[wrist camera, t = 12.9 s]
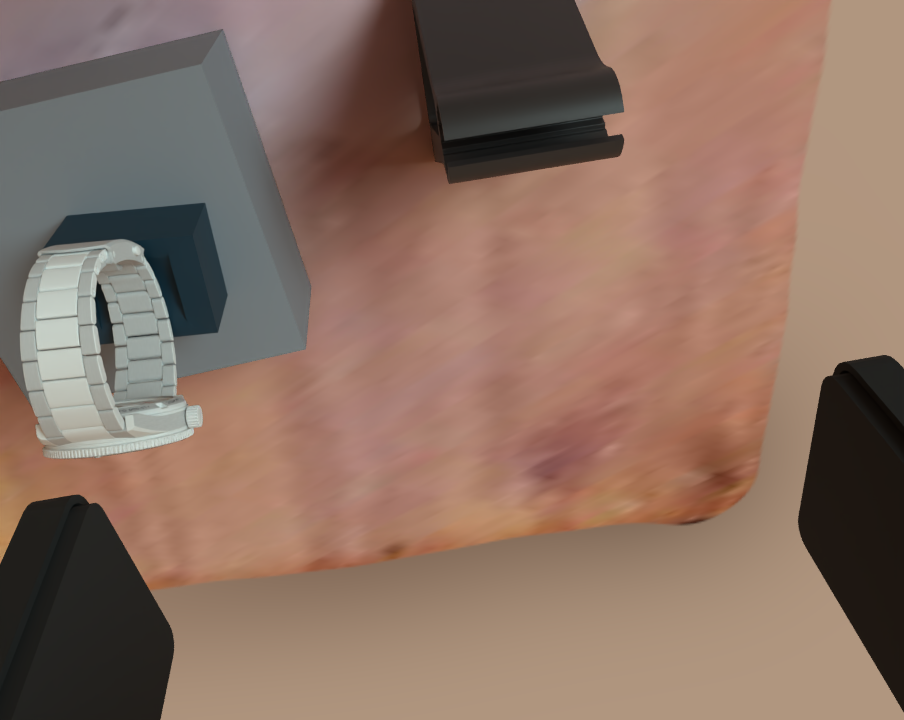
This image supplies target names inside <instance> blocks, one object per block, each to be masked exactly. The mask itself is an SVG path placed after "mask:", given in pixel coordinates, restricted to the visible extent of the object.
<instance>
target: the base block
mask: <svg viewBox="0 0 904 720" xmlns="http://www.w3.org/2000/svg"><path fill="white" fill-rule="evenodd" d="M196 203H205V204H206V208H207V212H208V216H209V220H210V225H211V229H212V233H213V237H214V241H215V245H216V249H217V253H218V257H219V261H220V265H221V269H222V274H223V278H224V282H225V286H226V290H227V294H228V296H227V300H226V304H225V308H224V312H223V316H222V319H221V323H220V327H219V331H218V333H210V334H200V335H191V336H181V337H173V339H174V340H173V341H165V342H174V348H175V355H176V364H171V365H176V372H177V378H181V377H185V376H190V375H194V374H198V373H203V372H207V371H212V370H216V369H221V368H225V367H229V366H234V365H238V364H243V363H247V362H252V361H256V360H260V359H265V358H269V357H274V356H278V355H283V354H287V353H291V352H296V351H300V350H305V349H306V341H307V330H308V319H309V307H310V296H311V285H310V282H309V279H308V276H307V273H306V270H305V267H304V264H303V261H302V258H301V256H300V253H299V250H298V247H297V244H296V241H295V238H294V235H293V232H292V229H291V226H290V224H289V221H288V218H287V215H286V212H285V209H284V206H283V203H282V200H281V197H280V194H279V191H278V189H277V186H276V183H275V180H274V177H273V174H272V171H271V168H270V165H269V162H268V159H267V157H266V154H265V151H264V148H263V145H262V142H261V139H260V136H259V133H258V130H257V127H256V124H255V122H254V119H253V116H252V113H251V110H250V107H249V104H248V101H247V98H246V95H245V92H244V90H243V87H242V84H241V81H240V78H239V75H238V72H237V69H236V66H235V63H234V60H233V57H232V55H231V52H230V49H229V46H228V43H227V40H226V37H225V34H224V31H223V29H222V30H218V31H214V32H210V33H205V34H201V35H197V36H193V37H188V38H184V39H180V40H176V41H172V42H167V43H163V44H159V45H155V46H150V47H146V48H142V49H138V50H133V51H129V52H125V53H121V54H117V55H112V56H108V57H104V58H100V59H95V60H91V61H87V62H83V63H79V64H74V65H70V66H66V67H62V68H57V69H53V70H49V71H45V72H41V73H36V74H32V75H28V76H24V77H19V78H15V79H11V80H7V81H2V82H0V357H1V359H2V361H3V362H4V364H5V365H6V367H7V368H8V370H9V372H10V373H11V375H12V376H13V378H14V379H15V381H16V383H17V384H18V386H19V387H20V389H21V390H22V392H23V394H24V395H25V397H26V398H27V400H28V401H29V403H30V405H31V401H30V398H29V392H30V391H27V388H26V384H25V378H24V372H23V363H25V362H34V361H25V362H23V361H22V360H21V351H20V333H21V332H23V331H21V329H20V325H21V310H22V304H23V303H24V302H23V295H24V290H25V286H26V282H27V279H28V278H29V277H28V275H29V272H30V270H31V268H32V267H33V265H34V264H35V263H36V260H37V259H38V258H39V257H38V255H37V254H38V252H39V251H40V250H42V249H43V248H44V246H45V245H46V244H47V242H48V241H49V240H50V238H51V237H52V235H53V234H54V233H55V231H56V230H57V228H58V227H59V226H60V224H61V223H62V222H63V220H64V219H65V217H66V216H67V215H78V214H89V213H100V212H110V211H121V210H132V209H143V208H153V207H164V206H175V205H185V204H196ZM58 319H59V318H58ZM48 320H49V319H48ZM165 342H162V343H165ZM126 346H127V345H126ZM126 346H115V344H114V343H112V344H102V345H100V349H101V352H100V353H99V354H93V355H100V356H101V357H102V361H103V365H104V369H105V373H106V377H107V380H106V382H105V383H108V385H109V388H110V390H111V393H114V392H116V391H115V376H116V371H117V370H118V369H116V365H115V349H116V348H117V347H126ZM77 347H79V346H77ZM77 347H67V348H77ZM67 348H57V349H67ZM57 349H48V350H57ZM48 350H41V351H48ZM86 356H92V355H86ZM159 358H162V357H159ZM149 359H156V358H149ZM140 360H147V359H140ZM35 361H38V360H35ZM130 361H137V360H130ZM164 366H165V365H164ZM123 370H127V369H123ZM85 377H86V376H85ZM75 378H76V377H75ZM66 379H67V378H66ZM56 380H57V379H56ZM46 381H47V380H46ZM31 406H32V405H31Z"/></svg>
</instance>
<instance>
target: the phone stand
mask: <svg viewBox="0 0 904 720" xmlns="http://www.w3.org/2000/svg"><path fill="white" fill-rule="evenodd" d="M412 6H413V13H414V20H415V27H416V33H417V40H418V47H419V54H420V61H421V67H422V75H423V82H424V89H425V96H426V103H427V110H428V116H429V123H430V130H431V137H432V144H433V151H434V157H435V162H440V163H444V166H445V170H446V174H447V179H448V182H449V184H452V183H459V182H465V181H471V180H477V179H483V178H490V177H496V176H502V175H508V174H514V173H521V172H527V171H533V170H539V169H545V168H552V167H558V166H564V165H570V164H576V163H583V162H589V161H595V160H601V159H607V158H614V157H618V156H620V154H621V152H622V149H623V145H624V138H623V136H622V134H620V135H614V136H608V134H607V130H606V129H605V122H604V120H603V118H602V116H603V115H609V114H615V113H621V112H624V107H623V100H622V94H621V89H620V85H619V82H618V79H617V76H616V74H615V72H614V71H613V69H612V68H610V67H607V66H606V65H604V64H603V62H602V61H601V60H600V58H599V56H598V54H597V52H596V50H595V47H594V45H593V43H592V40H591V38H590V36H589V33H588V31H587V28H586V26H585V24H584V21H583V19H582V17H581V14H580V12H579V10H578V7H577V5H576V3H575V0H412Z"/></svg>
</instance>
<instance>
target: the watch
mask: <svg viewBox="0 0 904 720" xmlns="http://www.w3.org/2000/svg"><path fill="white" fill-rule="evenodd" d="M37 255H38V257H39V258H38V259H37V260H36V263H35V264H34V265H33V267H32V268H31V270H30V272H29V275H28V277H29V278H28V279H27V282H26V286H25V290H24V295H23V302H24V303H23V304H22V310H21V325H20V329H21V331H23V332H21V333H20V351H21V360H22V361H23V362H25V361H34V362H25V363H23V372H24V378H25V384H26V388H27V391H30V392H29V398H30V401H31V405H32V408H33V411H34V413H35V416H36V417H38V422H39V424H36V425H35V427H36V434H37V438H38V439H39V441H40V442H41V443H42V444H43V445H45V447H43V456H44V457H47V458H53V459H76V458H91V457H94V458H99V457H101V456H109V455H116V454H123V453H129V452H135V451H140V450H145V449H150V448H155V447H159V446H163V445H167V444H171V443H174V442H177V441H180V440H183V439H186V438H188V437H190V436H191V435H193V434H194V429H193V428H195V427H201V426H202V423H203V415H202V410H201V407H200V406H199V405H195V406H188V404H187V402H186V401H185V400H184V397H183V395H176V386H177V372H176V365H171V364H176V355H175V348H174V342H165V341H173V340H174V339H173V337H181V336H191V335H200V334H210V333H218V331H219V327H220V323H221V319H222V316H223V312H224V308H225V304H226V300H227V296H228V294H227V290H226V286H225V282H224V278H223V274H222V269H221V265H220V261H219V257H218V253H217V249H216V245H215V241H214V237H213V233H212V229H211V225H210V220H209V216H208V212H207V208H206V204H205V203H196V204H185V205H175V206H164V207H153V208H143V209H132V210H121V211H110V212H100V213H89V214H78V215H67V216H66V217H65V219H64V220H63V222H62V223H61V224H60V226H59V227H58V228H57V230H56V231H55V233H54V234H53V235H52V237H51V238H50V240H49V241H48V242H47V244H46V245H45V246H44V248H43V249H42V250H40V251H39V252H38V254H37ZM58 318H59V319H58ZM48 319H49V320H48ZM162 342H165V343H162ZM112 343H114V344H115V346H126V345H127V346H126V347H117V348H116V349H115V365H116V369H118V370H117V371H116V376H115V391H116V392H114V396H112V393H111V390H110V388H109V385H108V383H105V382H106V380H107V377H106V373H105V369H104V365H103V361H102V357H101V356H100V355H93V354H99V353H100V352H101V349H100V345H102V344H112ZM77 346H79V347H77ZM67 347H77V348H67ZM57 348H67V349H57ZM48 349H57V350H48ZM41 350H48V351H41ZM86 355H92V356H86ZM159 357H162V358H159ZM149 358H156V359H149ZM140 359H147V360H140ZM35 360H38V361H35ZM130 360H137V361H130ZM164 365H165V366H164ZM123 369H127V370H123ZM85 376H86V377H85ZM75 377H76V378H75ZM66 378H67V379H66ZM56 379H57V380H56ZM46 380H47V381H46Z"/></svg>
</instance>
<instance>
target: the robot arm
mask: <svg viewBox="0 0 904 720" xmlns="http://www.w3.org/2000/svg"><path fill="white" fill-rule="evenodd" d="M798 517H799V518H798V525H799V531H800V535H801V538H802V541H803V542H804V545H805V547H806V548H807V550H808V552H809V553H810V555H811V557H812V559H813V560H814V562H815V564H816V565H817V567H818V569H819V570H820V572H821V574H822V575H823V577H824V579H825V580H826V582H827V584H828V585H829V587H830V589H831V590H832V592H833V594H834V596H835V597H836V599H837V601H838V602H839V604H840V606H841V607H842V609H843V611H844V612H845V614H846V616H847V618H848V619H849V621H850V623H851V624H852V626H853V627H854V629H855V631H856V633H857V634H858V636H859V638H860V639H861V641H862V643H863V644H864V646H865V648H866V650H867V651H868V653H869V655H870V656H871V658H872V660H873V661H874V663H875V664H876V666H877V668H878V670H879V671H880V673H881V675H882V676H883V678H884V680H885V681H886V683H887V685H888V686H889V688H890V690H891V692H892V693H893V695H894V697H895V698H896V700H897V701H898V703H899V705H900V707H901V708H902V710H903V712H904V369H903V367H902V366H901V365H900V364H899V363H898V362H897V361H896V360H895V359H893V358H892V357H890V356H887V355H882V356H876V357H870V358H864V359H859V360H853V361H847V362H842V363H839V364H838V365H837V367H836V368H835V370H834V373H833V376H828V377H826V378H825V379H824V380H823V383H822V386H821V391H820V397H819V403H818V408H817V414H816V420H815V425H814V431H813V437H812V442H811V448H810V454H809V459H808V465H807V471H806V477H805V482H804V488H803V494H802V500H801V506H800V511H799V516H798ZM173 653H174V640H173V633H172V630H171V628H170V625H169V623H168V622H167V620H166V618H165V616H164V615H163V613H162V611H161V610H160V608H159V606H158V604H157V602H156V601H155V599H154V597H153V596H152V594H151V592H150V590H149V588H148V587H147V585H146V583H145V582H144V580H143V578H142V576H141V575H140V573H139V571H138V569H137V568H136V566H135V564H134V562H133V561H132V559H131V557H130V555H129V554H128V552H127V550H126V548H125V547H124V545H123V543H122V541H121V540H120V538H119V536H118V534H117V533H116V531H115V529H114V527H113V526H112V524H111V522H110V520H109V519H108V517H107V515H106V514H105V512H104V510H103V509H102V507H101V506H100V505H99V504H97V503H91V504H89V503H88V502H87V500H86V499H85V498H84V497H82V496H81V495H71V496H65V497H59V498H53V499H48V500H42V501H36V502H32V503H31V504H29V505H28V506H27V507H26V509H25V511H24V512H23V514H22V517H21V519H20V521H19V523H18V526H17V528H16V530H15V532H14V535H13V537H12V539H11V541H10V543H9V546H8V548H7V550H6V552H5V555H4V557H3V559H2V561H1V564H0V720H160V719H161V714H162V709H163V704H164V699H165V694H166V689H167V683H168V679H169V674H170V669H171V664H172V659H173Z"/></svg>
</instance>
